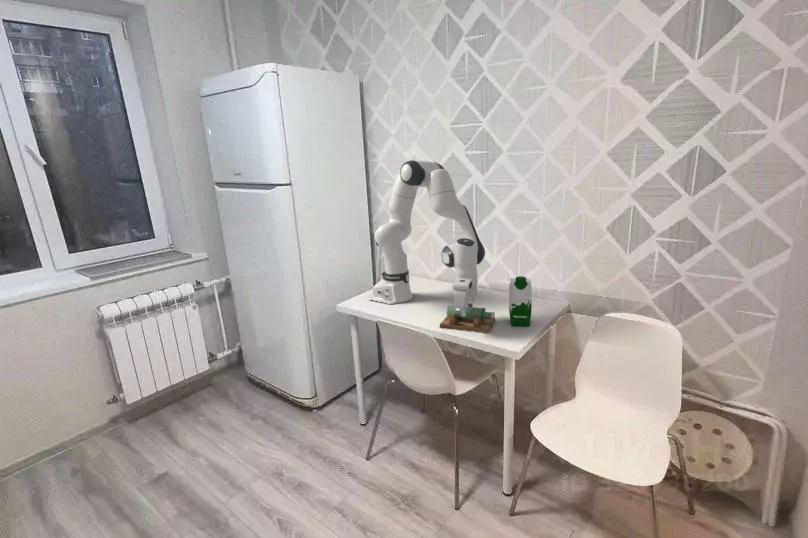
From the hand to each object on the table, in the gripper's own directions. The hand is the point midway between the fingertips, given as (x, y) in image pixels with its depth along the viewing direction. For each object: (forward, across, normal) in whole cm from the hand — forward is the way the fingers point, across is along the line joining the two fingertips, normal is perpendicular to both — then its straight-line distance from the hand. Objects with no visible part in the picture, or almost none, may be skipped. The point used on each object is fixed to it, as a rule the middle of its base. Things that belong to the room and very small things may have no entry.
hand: (467, 311), depth 171 cm
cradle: (+6, 0, 0) cm, 6 cm away
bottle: (+2, +2, +1) cm, 3 cm away
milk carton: (+6, -7, +20) cm, 22 cm away
